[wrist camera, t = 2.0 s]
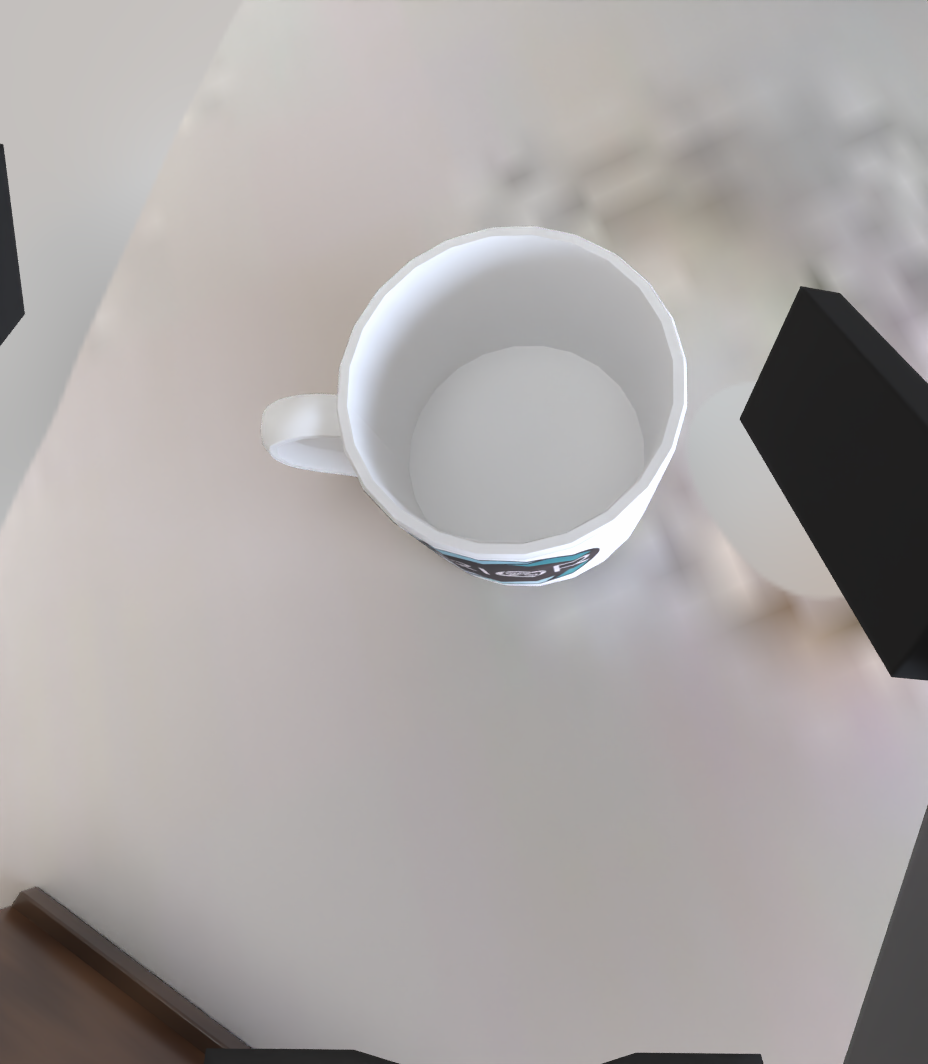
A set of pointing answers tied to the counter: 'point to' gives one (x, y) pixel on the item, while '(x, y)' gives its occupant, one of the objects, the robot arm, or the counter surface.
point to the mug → (502, 403)
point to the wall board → (88, 997)
